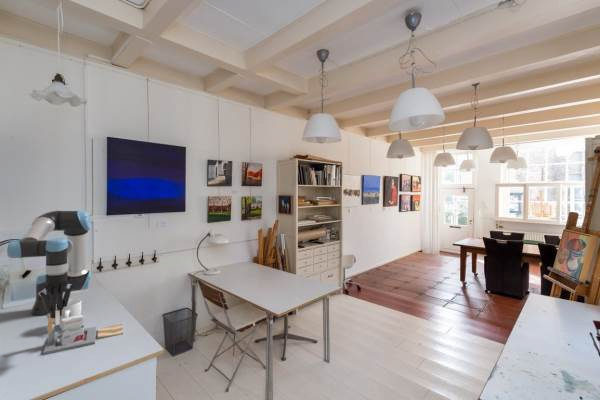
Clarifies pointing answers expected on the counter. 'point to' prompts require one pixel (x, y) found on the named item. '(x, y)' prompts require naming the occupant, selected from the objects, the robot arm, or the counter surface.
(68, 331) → the ink box
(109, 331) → the pad
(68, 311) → the mug
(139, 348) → the counter surface
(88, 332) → the stand
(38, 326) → the counter surface
